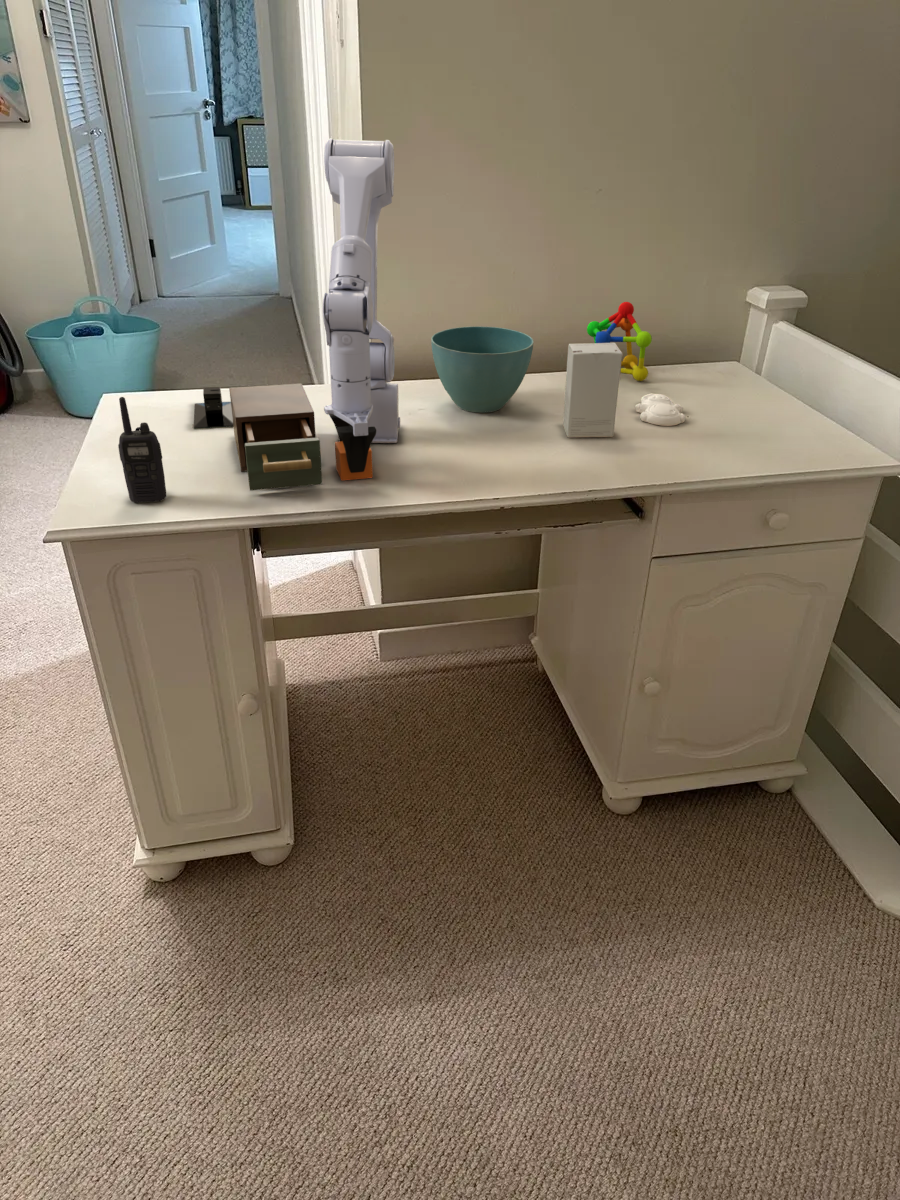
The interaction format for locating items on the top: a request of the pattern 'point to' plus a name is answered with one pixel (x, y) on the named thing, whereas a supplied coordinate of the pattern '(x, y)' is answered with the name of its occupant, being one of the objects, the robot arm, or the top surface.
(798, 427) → the top surface
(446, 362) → the plant pot
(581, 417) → the cosmetic box
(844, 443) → the top surface
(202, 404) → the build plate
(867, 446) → the top surface
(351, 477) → the block
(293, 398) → the cabinet
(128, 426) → the two-way radio
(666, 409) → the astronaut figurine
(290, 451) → the drawer
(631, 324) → the educational toy
